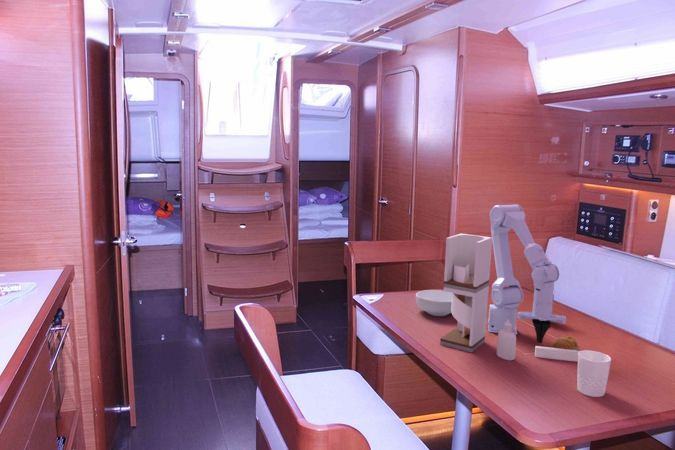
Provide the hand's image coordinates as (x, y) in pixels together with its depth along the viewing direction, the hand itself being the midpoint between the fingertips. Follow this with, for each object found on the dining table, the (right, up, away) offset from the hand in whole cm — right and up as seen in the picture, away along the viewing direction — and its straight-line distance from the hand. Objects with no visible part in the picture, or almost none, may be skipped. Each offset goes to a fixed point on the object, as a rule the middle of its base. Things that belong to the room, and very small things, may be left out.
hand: (539, 342), depth 176 cm
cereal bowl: (-27, +4, +31) cm, 42 cm away
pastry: (+7, -2, -2) cm, 8 cm away
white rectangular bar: (+3, -3, -10) cm, 10 cm away
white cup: (+2, -7, -31) cm, 32 cm away
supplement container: (+10, +2, +25) cm, 27 cm away
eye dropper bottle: (-14, -3, -10) cm, 17 cm away
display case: (-25, -1, +1) cm, 25 cm away
